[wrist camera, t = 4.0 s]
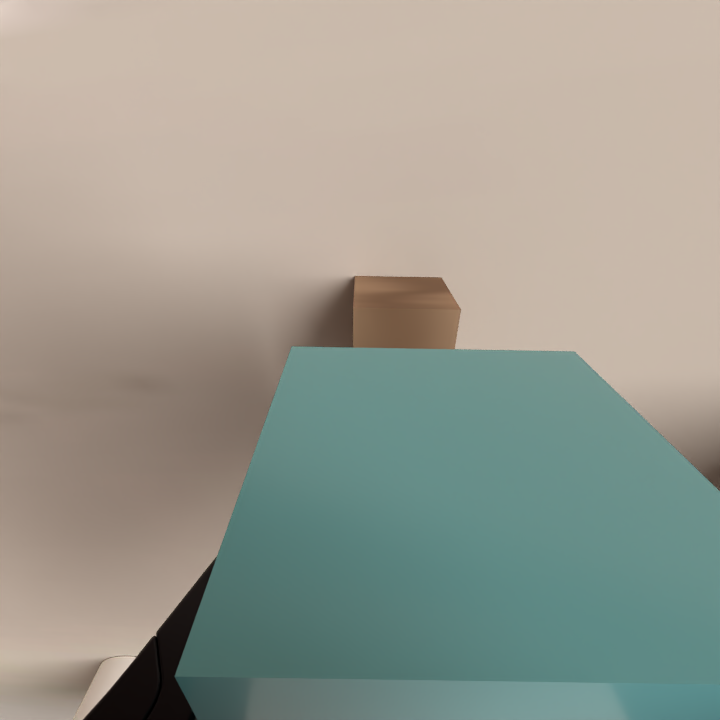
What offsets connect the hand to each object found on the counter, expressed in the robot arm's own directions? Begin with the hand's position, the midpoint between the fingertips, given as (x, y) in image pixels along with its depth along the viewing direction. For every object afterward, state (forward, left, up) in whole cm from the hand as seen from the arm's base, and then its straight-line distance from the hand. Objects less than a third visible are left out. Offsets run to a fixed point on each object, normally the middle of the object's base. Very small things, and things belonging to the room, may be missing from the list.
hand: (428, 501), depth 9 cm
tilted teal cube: (0, 0, -2) cm, 2 cm away
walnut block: (0, 0, -11) cm, 11 cm away
